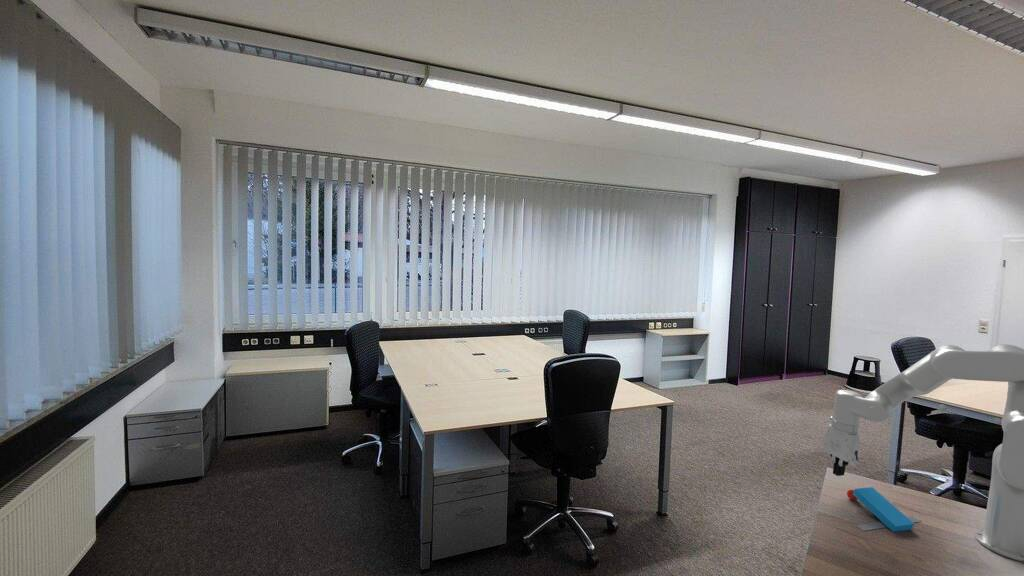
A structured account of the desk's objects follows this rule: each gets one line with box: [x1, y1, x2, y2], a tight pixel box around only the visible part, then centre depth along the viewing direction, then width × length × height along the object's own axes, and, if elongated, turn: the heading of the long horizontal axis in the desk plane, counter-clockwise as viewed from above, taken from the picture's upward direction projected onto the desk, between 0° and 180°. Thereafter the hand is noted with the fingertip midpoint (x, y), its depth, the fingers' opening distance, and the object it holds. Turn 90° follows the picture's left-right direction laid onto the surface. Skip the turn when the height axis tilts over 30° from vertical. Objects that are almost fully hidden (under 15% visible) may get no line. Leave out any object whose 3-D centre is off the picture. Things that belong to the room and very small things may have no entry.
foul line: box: [855, 516, 922, 532], centre depth 137 cm, size 23×2×1 cm, turn 102°
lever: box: [846, 486, 915, 532], centre depth 142 cm, size 7×7×18 cm
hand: (838, 474), depth 154 cm, fingers closed
